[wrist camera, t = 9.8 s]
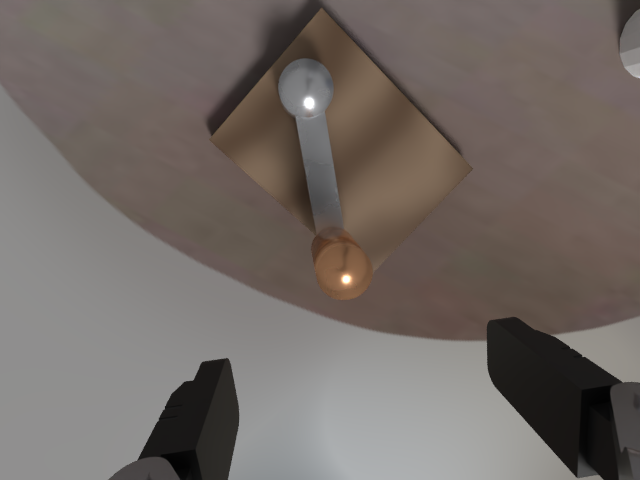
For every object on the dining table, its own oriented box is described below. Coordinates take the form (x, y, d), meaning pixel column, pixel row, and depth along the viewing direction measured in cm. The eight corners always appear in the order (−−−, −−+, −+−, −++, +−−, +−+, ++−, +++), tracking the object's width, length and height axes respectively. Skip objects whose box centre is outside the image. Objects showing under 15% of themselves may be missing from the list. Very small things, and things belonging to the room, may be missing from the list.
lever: (274, 72, 25) (266, 32, 18) (325, 63, 25) (339, 19, 18) (311, 267, 28) (318, 305, 21) (356, 258, 28) (379, 293, 21)
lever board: (213, 141, 28) (208, 139, 26) (320, 16, 26) (321, 6, 25) (362, 274, 31) (366, 280, 29) (464, 168, 29) (473, 168, 28)
